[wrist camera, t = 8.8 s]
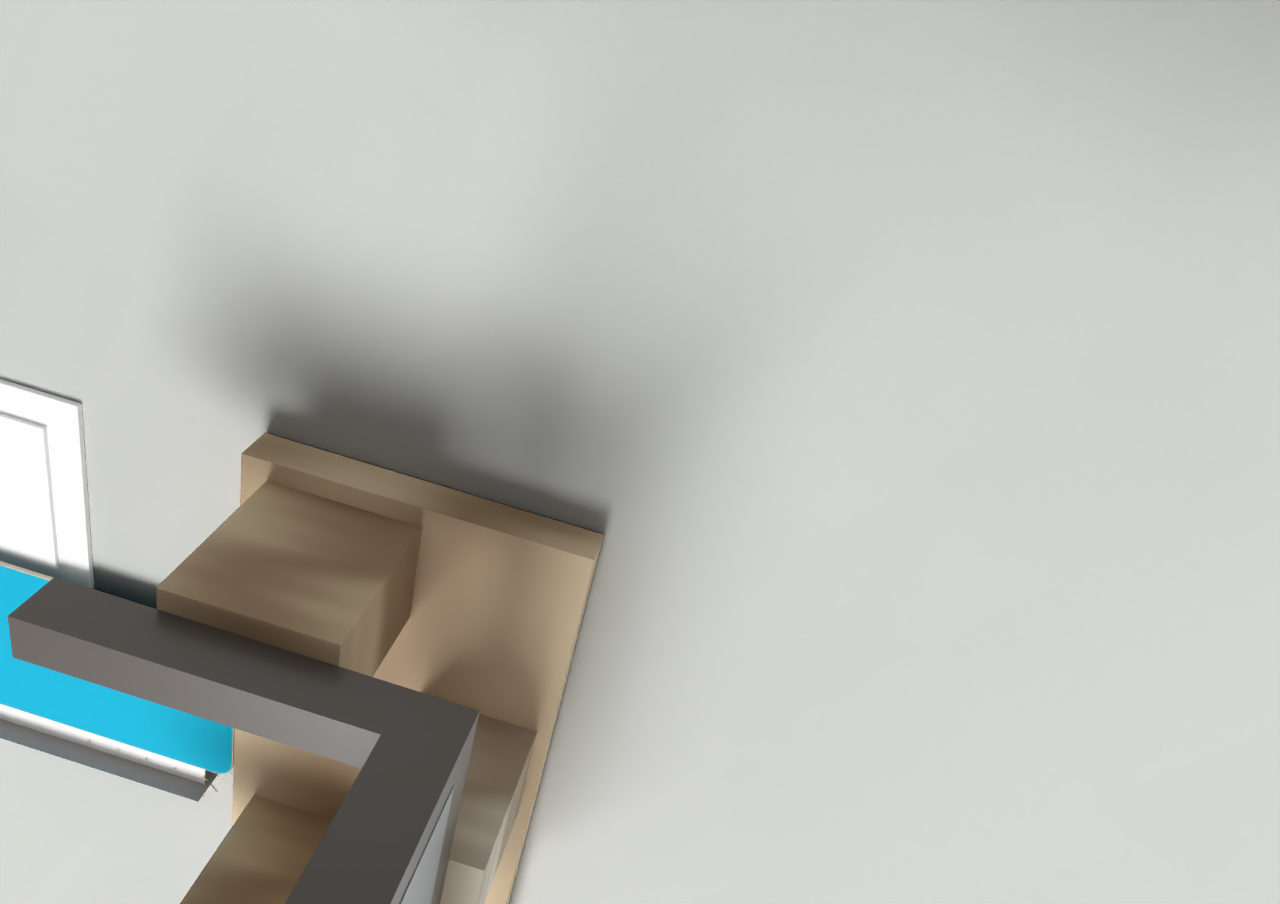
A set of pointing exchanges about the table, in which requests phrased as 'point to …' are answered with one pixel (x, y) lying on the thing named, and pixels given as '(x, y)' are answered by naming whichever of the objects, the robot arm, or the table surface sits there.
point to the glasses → (283, 729)
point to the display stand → (387, 646)
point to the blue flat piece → (61, 547)
